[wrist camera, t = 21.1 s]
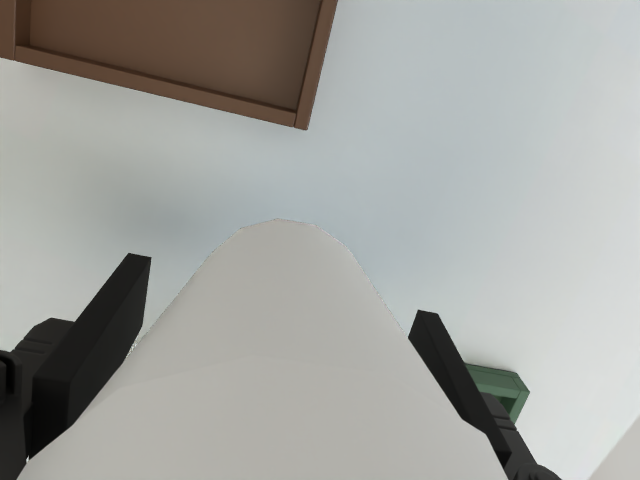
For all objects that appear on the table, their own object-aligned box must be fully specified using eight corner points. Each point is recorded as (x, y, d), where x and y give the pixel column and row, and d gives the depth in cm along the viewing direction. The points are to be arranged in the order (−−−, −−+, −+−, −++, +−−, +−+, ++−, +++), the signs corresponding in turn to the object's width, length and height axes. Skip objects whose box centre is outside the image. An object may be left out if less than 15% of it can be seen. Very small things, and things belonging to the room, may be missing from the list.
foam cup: (111, 319, 19) (-202, 799, 7) (247, 123, 17) (128, 341, 4) (309, 428, 21) (331, 921, 9) (452, 273, 19) (730, 672, 7)
